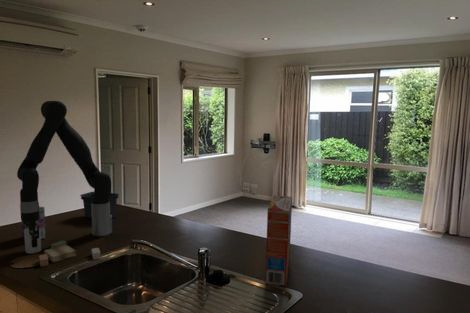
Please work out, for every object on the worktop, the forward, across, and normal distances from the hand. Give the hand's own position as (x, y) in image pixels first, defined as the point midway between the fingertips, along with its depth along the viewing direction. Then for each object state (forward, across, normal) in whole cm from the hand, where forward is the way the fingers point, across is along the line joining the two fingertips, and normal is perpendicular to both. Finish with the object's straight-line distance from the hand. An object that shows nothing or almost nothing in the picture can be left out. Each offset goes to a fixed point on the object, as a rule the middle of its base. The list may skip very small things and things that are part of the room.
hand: (31, 244), depth 168 cm
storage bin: (+3, +28, -48) cm, 56 cm away
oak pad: (+3, -14, -7) cm, 16 cm away
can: (+3, 0, 0) cm, 3 cm away
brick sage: (+3, -5, -10) cm, 12 cm away
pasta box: (+4, -94, -64) cm, 114 cm away
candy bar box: (+3, +18, -7) cm, 20 cm away
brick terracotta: (+4, -17, +1) cm, 17 cm away
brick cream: (+2, -25, -17) cm, 30 cm away
